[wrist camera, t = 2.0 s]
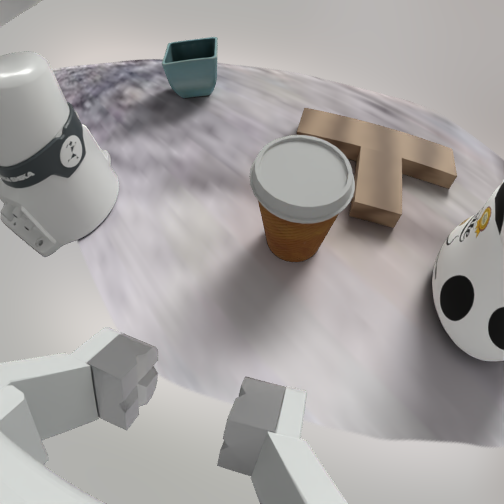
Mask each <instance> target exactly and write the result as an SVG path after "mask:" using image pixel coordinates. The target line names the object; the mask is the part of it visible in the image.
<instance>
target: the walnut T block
mask: <svg viewBox="0 0 504 504" xmlns="http://www.w3.org/2000/svg"><path fill="white" fill-rule="evenodd" d="M297 135H307V136H313V137H316V138H320V139H322V140H325V141H327V142H329V143H331V144H332V145H334V146H336V147H337V148H338V149H339V150H340V151H341V152H342V153H343V154H344V155H345V156H346V158H347V159H350V160H354V161H356V169H355V177H354V181H355V191H354V194H353V197H352V199H351V206H350V213H349V216H351V217H355V218H358V219H362V220H366V221H370V222H374V223H377V224H381V225H385V226H388V227H392V228H394V227H395V225H396V223H397V222H398V220H399V218H400V217H401V215H402V174H404V175H407V176H411V177H414V178H417V179H420V180H423V181H427V182H430V183H433V184H436V185H439V186H442V187H445V188H447V189H449V188H450V187H451V185H452V183H453V182H454V180H455V179H456V177H457V173H456V167H455V161H454V156H453V151H452V149H451V148H448V147H445V146H442V145H440V144H437V143H434V142H431V141H428V140H425V139H422V138H419V137H416V136H413V135H410V134H407V133H404V132H400V131H397V130H394V129H390V128H387V127H383V126H380V125H376V124H372V123H369V122H365V121H361V120H357V119H353V118H349V117H345V116H341V115H337V114H332V113H328V112H323V111H318V110H314V109H309V108H304V111H303V114H302V117H301V120H300V123H299V126H298V129H297Z"/></svg>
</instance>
